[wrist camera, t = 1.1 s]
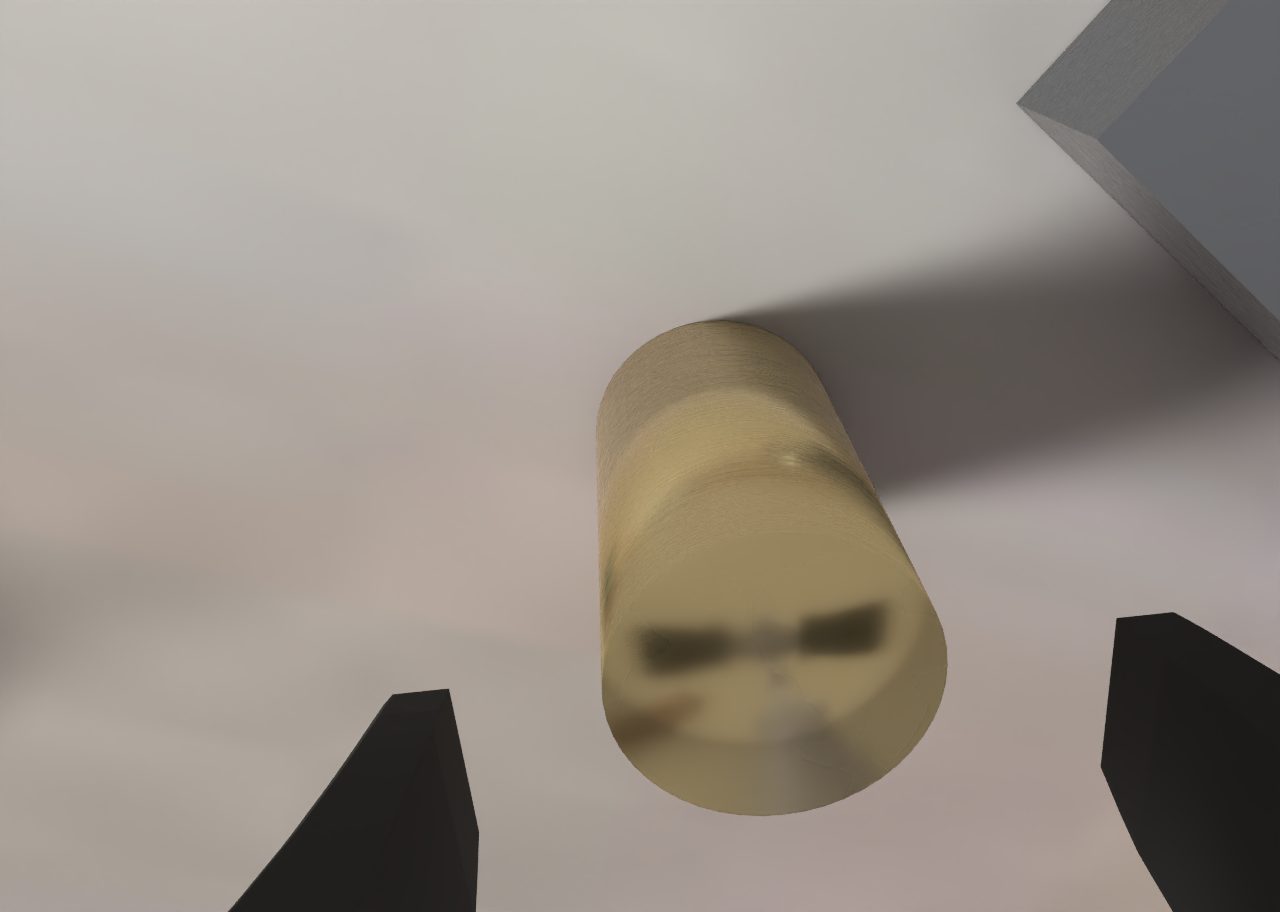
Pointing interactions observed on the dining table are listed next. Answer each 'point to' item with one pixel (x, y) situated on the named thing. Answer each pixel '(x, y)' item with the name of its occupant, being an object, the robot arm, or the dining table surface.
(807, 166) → the dining table surface
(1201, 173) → the junction block
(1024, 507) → the dining table surface
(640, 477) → the cylinder
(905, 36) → the dining table surface
